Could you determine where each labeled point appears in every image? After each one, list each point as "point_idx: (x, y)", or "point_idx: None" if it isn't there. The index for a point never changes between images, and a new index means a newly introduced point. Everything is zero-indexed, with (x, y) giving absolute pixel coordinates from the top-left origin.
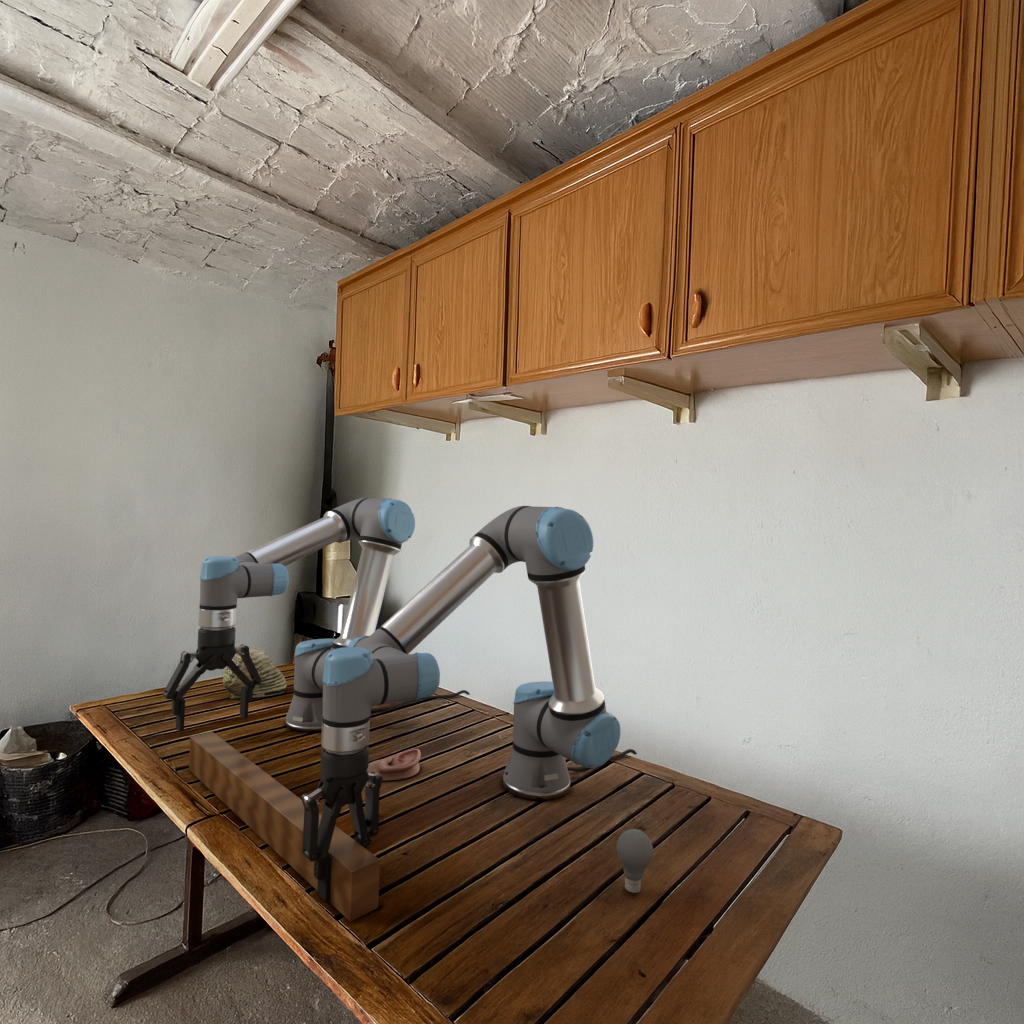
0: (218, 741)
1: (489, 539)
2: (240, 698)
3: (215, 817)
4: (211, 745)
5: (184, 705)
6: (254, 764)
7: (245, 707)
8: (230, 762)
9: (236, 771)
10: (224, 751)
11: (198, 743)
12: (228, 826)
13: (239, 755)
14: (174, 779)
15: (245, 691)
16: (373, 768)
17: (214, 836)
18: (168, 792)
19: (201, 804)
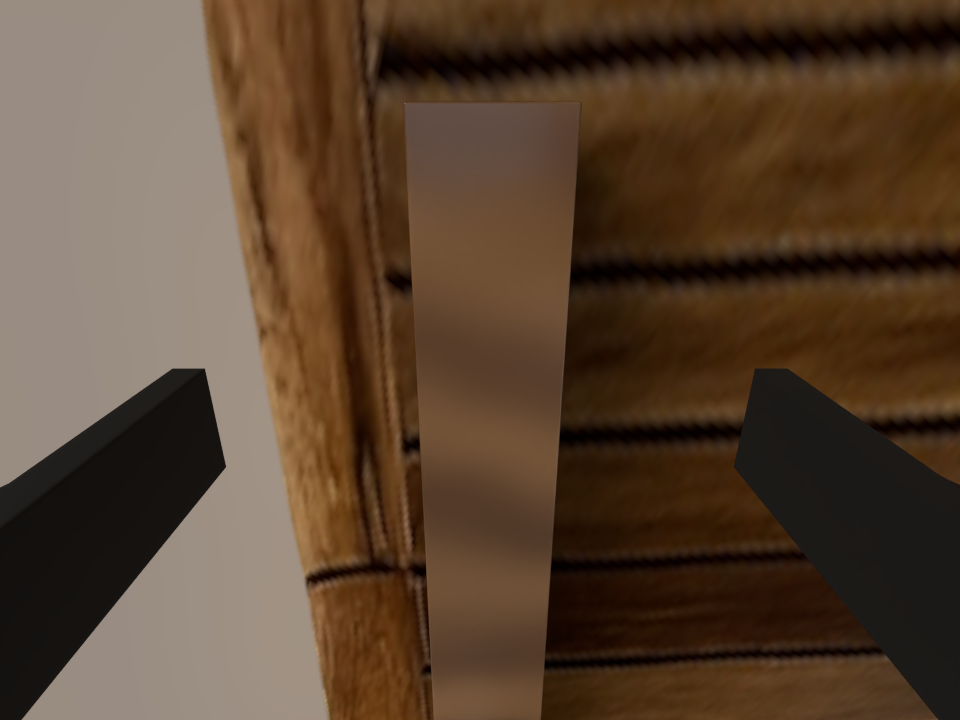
0: (531, 330)
1: None
2: (869, 463)
3: (389, 582)
4: (470, 369)
5: (61, 664)
6: (539, 685)
7: (793, 531)
8: (464, 619)
9: (449, 699)
10: (495, 491)
11: (414, 284)
12: (403, 642)
13: (533, 578)
14: (343, 193)
15: (929, 702)
16: None
17: (354, 663)
18: (294, 316)
19: (377, 484)
